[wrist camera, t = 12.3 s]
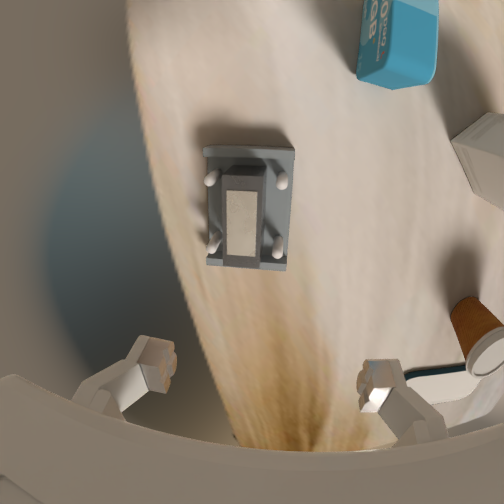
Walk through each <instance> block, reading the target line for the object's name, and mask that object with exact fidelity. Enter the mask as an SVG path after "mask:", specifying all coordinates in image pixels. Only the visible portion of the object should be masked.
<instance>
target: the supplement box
mask: <svg viewBox="0 0 504 504" xmlns="http://www.w3.org/2000/svg"><path fill="white" fill-rule="evenodd" d="M451 143H452V145H453V147H454V149H455V151H456V153H457V156H458V158H459V160H460V162H461V164H462V166H463V168H464V171H465V173H466V175H467V178H468V180H469V182H470V185H471V187H472V190H473V192H474V194H476V195H477V196H479V197H481V198H483V199H484V200H486V201H488V202H489V203H491V204H493V205H494V206H496V207H498V208H499V209H501V210H503V211H504V114H498V113H490V112H487V113H486V114H485V115H483V116H482V117H481V118H480V119H478V120H477V121H476V122H474V123H473V124H472V125H470V126H469V127H468V128H467V129H465V130H464V131H463V132H461V133H460V134H459V135H457V136H456V137H455V138H453V139H452V140H451Z"/></svg>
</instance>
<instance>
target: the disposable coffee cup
mask: <svg viewBox="0 0 504 504" xmlns="http://www.w3.org/2000/svg"><path fill="white" fill-rule="evenodd" d="M451 322H452V325H453V327H454V330H455V332H456V335H457V338H458V341H459V343H460V346H461V349H462V352H463V355H464V358H465V361H466V371H467V373H468V374H470V375H472V376H473V377H474V378H476V379H481V378H485V377H487V376H489V375H491V374H493V373H495V372H496V371H497V370H499V369H500V368H501V367H502V366H503V365H504V325H503V324H502V323H501V322H500V321H499V320H498V319H497V318H496V317H495V316H494V315H493V314H492V313H491V312H490V311H489V310H488V309H487V308H486V307H485V306H484V305H483V304H482V303H481V302H480V301H479V300H478V299H477V298H475V297H468V298H465V299H463V300H462V301H461V302H459V303H458V304H457V305H456V307H455V308H454V310H453V311H452V314H451Z"/></svg>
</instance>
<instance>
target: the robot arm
mask: <svg viewBox="0 0 504 504" xmlns="http://www.w3.org/2000/svg"><path fill="white" fill-rule="evenodd" d="M174 348H175V347H174V343H173V342H172V341H167V340H162V339H158V338H153V337H148V336H143V335H140V336H139V337H138V339H137V340H136V342H135V344H134V345H133V347H132V349H131V351H130V353H129V354H128V356H127V358H126V359H125V360H121V361H119V362H117V363H115V364H114V365H112V366H110V367H108V368H106V369H104V370H103V371H101V372H99V373H97V374H95V375H93V376H92V377H90V378H88V379H86V380H84V381H83V382H82V383H81V385H80V386H79V388H78V390H77V391H76V393H75V395H74V396H73V398H72V400H71V401H69V400H67V399H65V398H62V397H60V396H58V395H56V394H54V393H52V392H49V391H47V390H45V389H43V388H41V387H39V386H37V385H35V384H33V383H32V382H30V381H28V380H26V379H24V378H22V377H21V376H19V375H15V374H12V375H8V376H5V377H3V378H0V504H504V423H501V424H497V425H494V426H491V427H488V428H485V429H481V430H478V431H474V432H471V433H467V434H464V435H460V436H455V437H451V438H449V436H448V432H447V428H446V425H445V422H444V418H443V416H442V415H441V414H440V413H439V412H438V411H437V410H435V409H434V408H433V407H432V406H431V405H430V404H429V403H428V402H427V401H426V400H424V399H423V398H422V397H421V396H420V395H419V394H418V393H417V392H416V391H414V390H413V389H412V388H411V387H407V384H406V380H405V377H404V374H403V371H402V368H401V364H400V361H399V360H398V359H366V360H365V361H364V363H363V370H362V371H360V372H359V374H358V377H357V392H358V393H359V394H360V395H361V396H360V398H359V400H358V401H359V407H360V412H378V414H379V415H380V416H381V418H382V419H383V420H384V421H385V423H386V424H387V425H388V427H389V428H390V429H391V430H392V432H393V433H394V434H395V435H396V437H397V438H398V439H399V440H398V441H397V442H396V443H395V444H394V445H393V446H392V448H387V449H376V450H364V451H347V452H295V451H277V450H264V449H254V448H245V447H236V446H229V445H222V444H216V443H211V442H205V441H199V440H194V439H189V438H185V437H180V436H176V435H171V434H167V433H163V432H160V431H155V430H152V429H148V428H145V427H141V426H138V425H135V424H131V423H128V422H126V420H125V418H124V417H123V415H122V413H121V412H122V411H123V410H125V409H126V408H127V407H129V406H130V405H131V404H132V403H134V402H135V401H136V400H137V399H139V398H140V397H141V396H143V395H144V394H145V393H146V392H148V390H151V391H156V392H161V393H167V391H168V388H169V386H170V383H171V381H170V377H171V376H172V375H173V374H174V373H175V370H176V365H177V357H176V354H175V353H174V352H173V351H174Z"/></svg>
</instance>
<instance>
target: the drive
mask: <svg viewBox="0 0 504 504" xmlns="http://www.w3.org/2000/svg"><path fill="white" fill-rule="evenodd" d="M266 185H267V166H252V165H232V166H231V167H230V168H229V169H228V170H227V171H226V172H224V173H223V174H222V245H223V266H232V267H244V268H256V269H259V268H260V263H261V258H262V252H263V247H264V231H265V208H266Z"/></svg>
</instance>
